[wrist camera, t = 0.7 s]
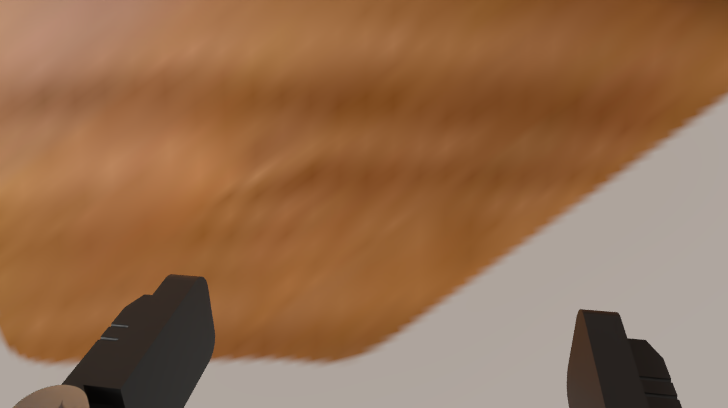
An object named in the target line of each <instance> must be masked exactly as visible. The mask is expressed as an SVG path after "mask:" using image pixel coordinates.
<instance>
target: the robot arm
mask: <svg viewBox="0 0 728 408" xmlns="http://www.w3.org/2000/svg"><path fill="white" fill-rule="evenodd" d="M214 343H215V330H214V324H213V317H212V310H211V304H210V297H209V291H208V285H207V282H206V280H205V278H204V277H197V276H185V275H173V274H171V275H169V276H167V277H166V278H165V280H164V281H163V282H162V283H161V285H160V286H159V287H158V289H157V290H156V291H155V292H154V294H153V295H143V296H142V297H140V298H139V299H137V300H135V301H134V302H132V303H131V304H129V305H128V306H126V307H125V308H124V309H123V310H122V311H121V313H120V314H119V315H118V316H117V317H116V319H115V320H114V321H113V322H112V325H111V327H108V328H107V330H106V331H105V332H104V333H103V334H102V336H101V339H100V340H98V341H97V342H96V343H95V344H94V345H93V347H92V348H91V349H90V350H89V352H88V353H87V354H86V355H85V356H84V358H83V359H82V360H81V361H80V363H79V364H78V365H77V366H76V367H75V369H74V370H73V371H72V372H71V374H70V375H69V376H68V377H67V378H66V380H65V381H64V382H63V383H62V385H55V386H50V387H46V388H43V389H40V390H38V391H35V392H33V393H31V394H29V395H28V396H26V397H25V398H23V399H22V400H21V401H19V402H18V403H17V404H16V405H15V406H14V407H13V408H184V406H185V404H186V402H187V401H188V399H189V397H190V395H191V393H192V391H193V390H194V388H195V386H196V384H197V382H198V381H199V379H200V377H201V375H202V374H203V372H204V370H205V368H206V366H207V365H208V363H209V361H210V359H211V356H212V353H213V349H214ZM567 397H568V403H569V408H682V407H681V404H680V401H679V400H677V393H676V391H675V388H674V386H673V383H671V378H670V375H669V372H668V370H667V367H666V365H665V362H664V359H663V358H662V357H661V356H660V355H659V354H658V353H657V352H656V351H655V350H654V349H653V347H652V346H651V345H650V344H649V343H648V342H647V341H646V340H638V339H628V338H627V336H626V333H625V330H624V327H623V324H622V321H621V317H620V315H619V313H617V312H605V311H594V310H582V309H580V310H579V311H578V314H577V318H576V324H575V330H574V336H573V341H572V347H571V353H570V358H569V364H568V371H567Z"/></svg>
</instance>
